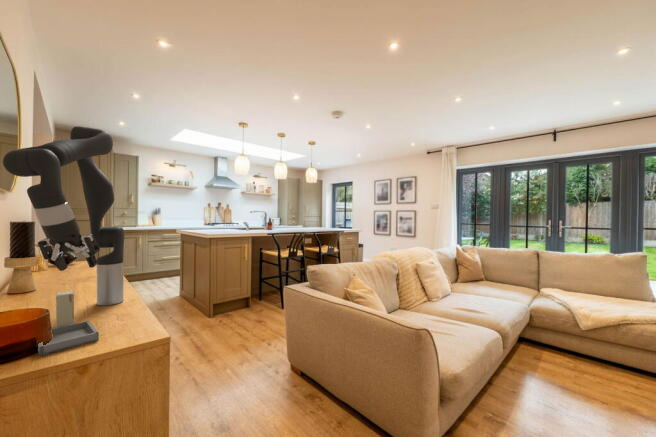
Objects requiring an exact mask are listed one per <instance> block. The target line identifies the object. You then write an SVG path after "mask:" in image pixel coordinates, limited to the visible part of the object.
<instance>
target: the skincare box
mask: <svg viewBox="0 0 656 437" xmlns="http://www.w3.org/2000/svg"><path fill="white" fill-rule="evenodd" d="M55 298H56V300H55V306H56V307H55V313H56V315H55V318H56V325H55V326H56V327H55V328H57V327H61V326H66V325H70V324H75V292H74V290H67V291H59V292H56V294H55Z"/></svg>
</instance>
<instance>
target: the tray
mask: <svg viewBox="0 0 656 437" xmlns="http://www.w3.org/2000/svg"><path fill="white" fill-rule="evenodd" d="M50 329H51V330H52V334H53V338H52V340H51V341H50V342H49V343H47V344H46V345H43V342H41V343H39V344H38V349H37V352H38V355H39V357H42V356H46V355H49V354H54V353H57V352H60V351H61V352H62V351H65V350H67V349H71V348H76V347H80V346H85V345H87V344H91V343H94V342H97V341H99V337H100V336H99V331H98V330H97V328H96V327H95V326H94V325H93V324H92V323H91V321H90V320H89V319H88V320H83V321H80V322H76V323H75V322H74V324H70V325H66V326H61V327H57V328H56V327H53V328H50Z"/></svg>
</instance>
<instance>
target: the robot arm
mask: <svg viewBox="0 0 656 437" xmlns="http://www.w3.org/2000/svg"><path fill="white" fill-rule="evenodd" d="M69 135H70V138H69V139H61V140H54V141H51V142H47V143H44V144H42V145H41V144H40V145H37V146H31V147H30V146H29V147H23V148H18V149H13V150H10V151H8V152H7V153H5V155H4V156H3V158H2V165H3V167H4V169H5V170H6V171H7V172H8V173H10V174H11V175H13V176H15V177H22V178H24V177H25V178H28V177H37V176H38V177H39V176H40V181H39V182H40V183H38V184H34V185H31V186H29V187H28V188H27V189H26V193H27V196H28V198H29V200H30V203H31V205H32V207H33V209H34V212H35V215H36V219H37V220H38V224H40V226H41V229H42V232H43V234H44V235H45V238H43V239H41V240H39V241H37V245H38V247H39V250H40V252H41V255H42V257H43V259H44V260H51V261H53V262H54V265H55V266H56V268H57V270H58V271H60V272H63V271H65V270H67V269H68V264H67V263H66V260H65V258H64V257H63V254H64V253H68V252H71V253H72V252H76V253H77V254H81V255H83V256H84V257H85V260H86V262H87V264H88V267H89V268H90V269H92V268H93V269H94V267H96V305H97V306H111V305H116V304H120V303H122V302H123V301H124V292H125V291H124V290H125V289H124V288H125V287H124V286H125V285H124V282H125V281H124V277H125V276H124V271H125V270H124V257H125V256H124V255H125V254H124V251H125V249H124V247H125V230H124V227H122V226H103V225H102V222H103V219H104V217H105V215H106V214H107V212H108V211H109V210H110V208H111V207H112V205H113V204H114V202H115V193H114V187H113V183H112V182H111V180H109V178H108V177H107V176H106V175H105V174H104V172H103V171H102V170H100V168H99V167H98V166H97V164H96V163H95V161H94V159H93V158H94V157H97V156H104V155H105V156H106V155H107V154H110V153H111V151H113V147H114V140H113V137H112V135H111V134H110V133H109V131H106V130H103V129H100V128H93V127H87V126H86V127H85V126H80V125H79V126H73V127H72V128H71V130H70V134H69ZM74 162H76V164H77V166H78V169H79V173H80V174H79V175H80V177H81V178H80V180H81V183H82V184H81V185H82V191H83V194H84V195H83V196H84V201H85V204H86V207H87V208H86V209H87V212H88V218H89V226H90V227H89V229H90V234H88V235H82V234H81V233H80V229H81V228H80V226H79V224H78V222H77V220H76V217H75V213H74V211H73V210H72V207H71V206H70V205H69V202H68V200H67V198H66V196H65V194H64V191H63V187H62V179H61V178H62V176H61V175H62V173H61V172H62V170H61V168H62V167H64V166H66V165H69V164H73V163H74ZM53 247H54V249H53ZM109 248H112V249H113V250H112V251H110V252H109V253H107V254H104V255H101V256H98V257H96V254H98V253H99V252H100V251H101V249H109Z"/></svg>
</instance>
